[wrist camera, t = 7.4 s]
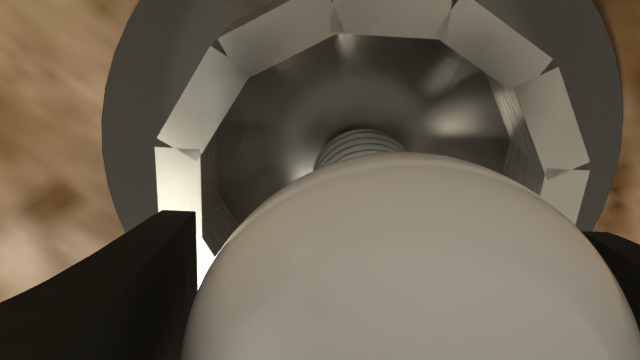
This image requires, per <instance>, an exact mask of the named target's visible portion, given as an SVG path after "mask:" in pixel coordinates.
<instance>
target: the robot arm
mask: <svg viewBox="0 0 640 360" xmlns="http://www.w3.org/2000/svg"><path fill="white" fill-rule="evenodd" d="M581 232H582V233H583V234H584V235H585V236H586V237H587V239H588V240H589V241H590V242H591V243H592V245H593V246H594V247H595V248H596V250H597V251H598V252H599V253H600V255H601V256H602V258H603V259H604V261H605V262H606V263H607V265H608V266H609V268H610V269H611V271H612V273H613V274H614V276H615V278H616V279H617V281H618V283H619V285H620V286H621V288H622V290H623V292H624V294H625V296H626V298H627V300H628V302H629V305H630V307H631V309H632V311H633V314H634V316H635V319H636V321H637V324H638V327H639V330H640V245H639V244H637V243H635V242H632V241H630V240H628V239H625V238H623V237H620V236H617V235H614V234H611V233H608V232H590V231H581ZM197 291H198V276H197V240H196V211H177V210H162V211H160V212H158V213H156V214H154V215H153V216H151V217H149V218H148V219H146V220H145V221H143V222H142V223H140V224H139V225H137V226H136V227H134V228H133V229H131V230H130V231H128V232H127V233H125V234H123V235H122V236H120V237H119V238H117V239H116V240H114V241H113V242H111V243H109V244H108V245H106V246H105V247H103V248H102V249H100V250H99V251H97V252H95V253H94V254H92V255H90V256H89V257H87V258H85V259H83V260H82V261H80V262H78V263H76V264H75V265H73V266H71V267H69V268H68V269H66V270H64V271H63V272H61V273H59V274H57V275H56V276H54V277H52V278H50V279H48V280H47V281H45V282H43V283H41V284H39V285H37V286H35V287H33V288H31V289H29V290H27V291H25V292H23V293H21V294H18V295H16V296H14V297H12V298H10V299H8V300H5V301H3V302H1V303H0V360H180V353H181V346H182V341H183V336H184V331H185V327H186V323H187V319H188V316H189V313H190V310H191V307H192V304H193V301H194V299H195V296H196V294H197Z"/></svg>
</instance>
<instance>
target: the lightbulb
mask: <svg viewBox="0 0 640 360" xmlns="http://www.w3.org/2000/svg"><path fill="white" fill-rule="evenodd" d="M180 360H640V330H639V327H638V324H637V321H636V319H635V316H634V314H633V311H632V309H631V307H630V305H629V302H628V300H627V298H626V296H625V294H624V292H623V290H622V288H621V286H620V285H619V283H618V281H617V279H616V278H615V276H614V274H613V273H612V271H611V269H610V268H609V266H608V265H607V263H606V262H605V261H604V259H603V258H602V256H601V255H600V253H599V252H598V251H597V250H596V248H595V247H594V246H593V245H592V243H591V242H590V241H589V240H588V239H587V237H586V236H585V235H584V234H583V233H582V232H581V231H580V230H579V229H578V228H577V227H576V226H575V225H574V224H573V223H572V222H571V221H570V220H569V219H568V218H567V217H566V216H565V215H564V214H562V213H561V212H560V211H559V210H558V209H557V208H555V207H554V206H553V205H552V204H550V203H549V202H548V201H546V200H545V199H544V198H542V197H541V196H539V195H538V194H537V193H535V192H534V191H532V190H530V189H529V188H527V187H525V186H524V185H522V184H520V183H519V182H517V181H515V180H513V179H511V178H509V177H507V176H505V175H503V174H501V173H499V172H497V171H494V170H492V169H489V168H487V167H484V166H481V165H478V164H475V163H472V162H469V161H466V160H462V159H458V158H454V157H449V156H443V155H438V154H431V153H421V152H408V151H407V149H406V148H405V146H404V145H403V144H402V143H401V142H400V141H399V140H397V139H396V138H394V137H393V136H391V135H389V134H387V133H385V132H382V131H379V130H374V129H356V130H351V131H348V132H345V133H343V134H340V135H338V136H337V137H335V138H334V139H332V140H331V141H330V142H329V143H327V144H326V145H325V147H324V148H323V149H322V150H321V152H320V153H319V155H318V157H317V159H316V161H315V164H314V168H313V171H312V172H310V173H308V174H306V175H304V176H302V177H300V178H298V179H296V180H294V181H293V182H291V183H289V184H288V185H286V186H285V187H283V188H282V189H280V190H279V191H277V192H276V193H274V194H273V195H272V196H270V197H269V198H268V199H266V200H265V201H264V202H263V203H262V204H260V205H259V206H258V207H257V208H256V209H255V210H254V211H253V212H252V213H250V214H249V215H248V216H247V217H246V218H245V219H244V220H243V221H242V223H241V224H240V225H239V226H238V227H237V228H236V229H235V231H234V232H233V233H232V234H231V235H230V237H229V238H228V239H227V240H226V242H225V243H224V245H223V246H222V248H221V249H220V250H219V252H218V253H217V255H216V257H215V258H214V260H213V261H212V263H211V265H210V267H209V268H208V270H207V272H206V274H205V276H204V278H203V280H202V282H201V284H200V287H199V289H198V291H197V294H196V296H195V299H194V301H193V304H192V307H191V310H190V313H189V316H188V319H187V323H186V327H185V331H184V336H183V341H182V346H181V353H180Z"/></svg>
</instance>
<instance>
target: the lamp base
mask: <svg viewBox="0 0 640 360" xmlns="http://www.w3.org/2000/svg"><path fill="white" fill-rule="evenodd" d="M622 122H623V109H622V93H621V82H620V77H619V72H618V67H617V63H616V58H615V53H614V49H613V47H612V44H611V41H610V39H609V36H608V33H607V31H606V28H605V25H604V22H603V20H602V18H601V16H600V14H599V12H598V10H597V9H596V7H595V5H594V3H593V1H592V0H141V1H140V2H139V4H138V6H137V7H136V9H135V11H134V12H133V14H132V16H131V17H130V19H129V20H128V23H127V25H126V27H125V30H124V32H123V34H122V37H121V39H120V41H119V44H118V46H117V48H116V51H115V53H114V56H113V60H112V64H111V68H110V72H109V75H108V79H107V83H106V87H105V95H104V103H103V112H102V153H103V159H104V165H105V171H106V177H107V183H108V187H109V190H110V193H111V196H112V199H113V203H114V206H115V209H116V212H117V215H118V217H119V219H120V221H121V223H122V226H123V228H124V230H125V232H126V233H127V232H128V231H130V230H131V229H133V228H134V227H136V226H137V225H139V224H140V223H142V222H143V221H145V220H146V219H148V218H149V217H151V216H153V215H154V214H156V213H158V212H160V211H162V210H177V211H196V240H197V276H198V289H199V287H200V284H201V282H202V280H203V278H204V276H205V274H206V272H207V270H208V268H209V267H210V265H211V263H212V261H213V260H214V258H215V257H216V255H217V253H218V252H219V250H220V249H221V248H222V246H223V245H224V243H225V242H226V240H227V239H228V238H229V237H230V235H231V234H232V233H233V232H234V231H235V229H236V228H237V227H238V226H239V225H240V224H241V223H242V221H243V220H244V219H245V218H246V217H247V216H248V215H249V214H250V213H252V212H253V211H254V210H255V209H256V208H257V207H258V206H259V205H260V204H262V203H263V202H264V201H265V200H266V199H268V198H269V197H270V196H272V195H273V194H274V193H276V192H277V191H279V190H280V189H282V188H283V187H285V186H286V185H288V184H289V183H291V182H293V181H294V180H296V179H298V178H300V177H302V176H304V175H306V174H308V173H310V172H312V171H313V168H314V164H315V161H316V159H317V157H318V155H319V153H320V152H321V150H322V149H323V148H324V147H325V145H326V144H327V143H329V142H330V141H331V140H332V139H334V138H335V137H337V136H338V135H340V134H343V133H345V132H348V131H351V130H356V129H374V130H379V131H382V132H385V133H387V134H389V135H391V136H393V137H394V138H396V139H397V140H399V141H400V142H401V143H402V144H403V145H404V146H405V148H406V149H407V151H408V152H421V153H431V154H438V155H443V156H449V157H454V158H458V159H462V160H466V161H469V162H472V163H475V164H478V165H481V166H484V167H487V168H489V169H492V170H494V171H497V172H499V173H501V174H503V175H505V176H507V177H509V178H511V179H513V180H515V181H517V182H519V183H520V184H522V185H524V186H525V187H527V188H529V189H530V190H532V191H534V192H535V193H537V194H538V195H539V196H541V197H542V198H544V199H545V200H546V201H548V202H549V203H550V204H552V205H553V206H554V207H555V208H557V209H558V210H559V211H560V212H561V213H562V214H564V215H565V216H566V217H567V218H568V219H569V220H570V221H571V222H572V223H573V224H574V225H575V226H576V227H577V228H578V229H579V230H580V231H590V232H592V230H593V228H594V226H595V224H596V222H597V220H598V218H599V216H600V214H601V212H602V210H603V208H604V205H605V202H606V200H607V197H608V194H609V191H610V188H611V186H612V183H613V180H614V176H615V171H616V167H617V162H618V158H619V153H620V147H621V135H622Z"/></svg>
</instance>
